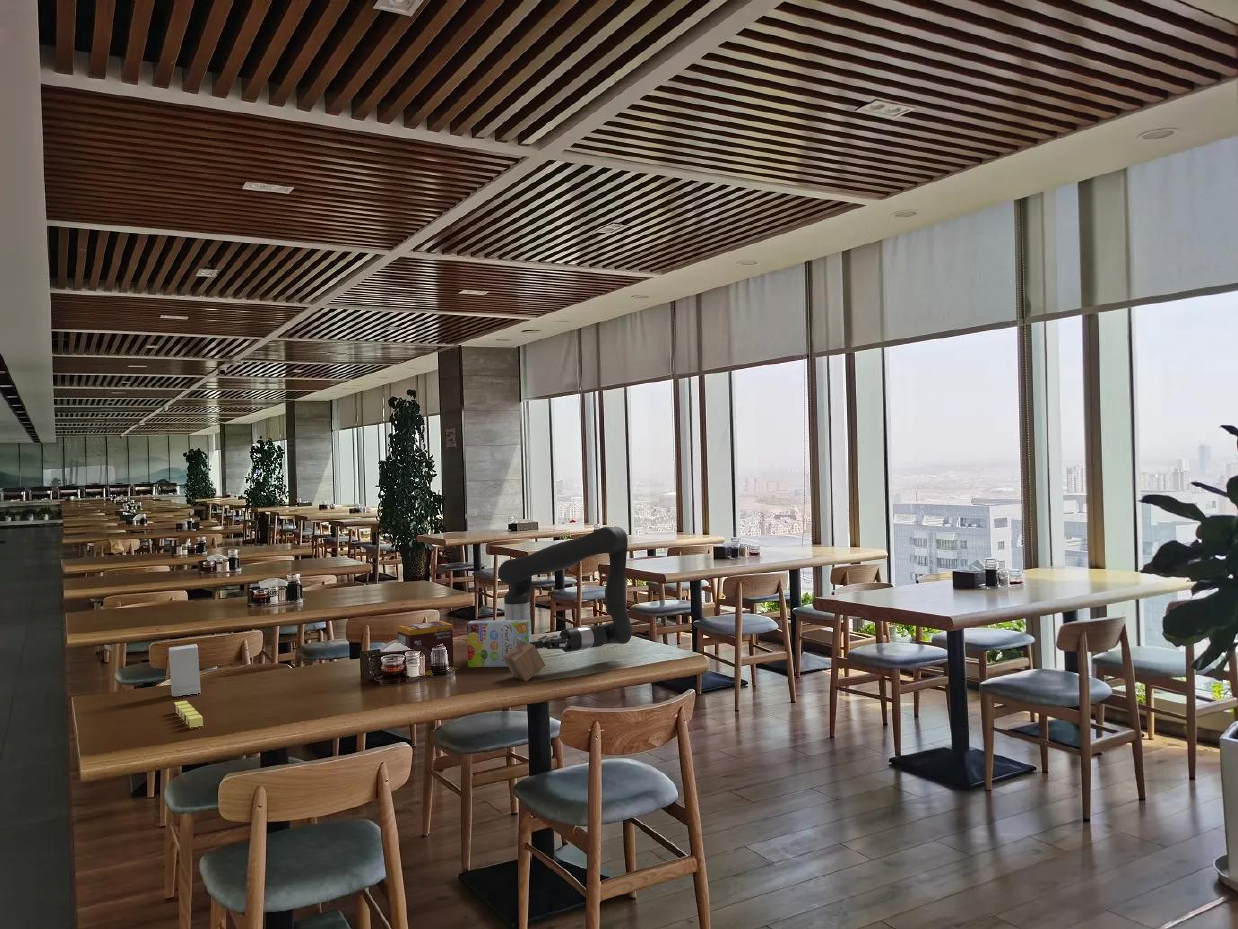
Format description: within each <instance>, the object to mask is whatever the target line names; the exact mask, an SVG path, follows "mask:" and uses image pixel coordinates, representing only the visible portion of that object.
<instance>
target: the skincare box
mask: <svg viewBox="0 0 1238 929" xmlns="http://www.w3.org/2000/svg"><path fill="white" fill-rule="evenodd" d="M168 662H169V665H168V666H169V674H170V690H171V697H172V696H182V695H190V694H197V695H199V694H198V693H200V694H201V693H202V692H201V681H200V680H201V679H200V677H201V676H200V666H199V665H200V664H199V663H200V662H199V648H198V644H197V643H193V644H186V645H180V646H179V645H178V646H173V647H172V646H171V647H168ZM190 696H191V695H190Z"/></svg>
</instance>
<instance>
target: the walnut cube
mask: <svg viewBox="0 0 1238 929" xmlns="http://www.w3.org/2000/svg"><path fill="white" fill-rule="evenodd" d="M503 658H504V660H505V662H506V663H507V665H508V667H507V668H508V669H509V671H510V672H511V674H512V676H513V678H516V679H519V680H521V681H524V682H528V681H529V680H530V679H531V678H533V677H534V676H535V675H536V674H538V673H539V672H541V670H542V669H543V668H545V667H546V664H545V662H544V660H543V658H542V656H541V654H540V653H539V651H538V649H536V647H535V645H533V644H529V643H526V642H520V643H519V644H518V645H517V646H515V647H514V648H513V649H512V650H510V651H509V652H508V653H507V654H505V655H504V656H503Z"/></svg>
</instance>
